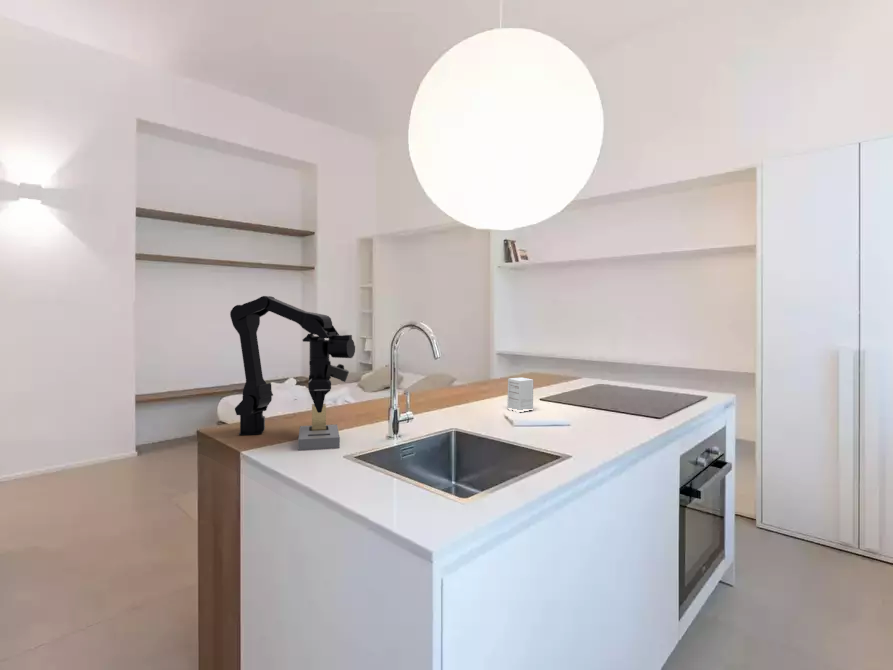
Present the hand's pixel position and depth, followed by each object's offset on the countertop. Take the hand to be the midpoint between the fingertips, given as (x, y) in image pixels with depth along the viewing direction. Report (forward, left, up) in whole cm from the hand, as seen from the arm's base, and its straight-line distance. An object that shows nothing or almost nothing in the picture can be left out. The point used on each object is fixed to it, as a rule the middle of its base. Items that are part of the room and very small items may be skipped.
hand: (319, 409), depth 144 cm
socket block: (0, -4, -9) cm, 10 cm away
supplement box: (+77, +27, -9) cm, 82 cm away
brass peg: (0, 0, -9) cm, 9 cm away
